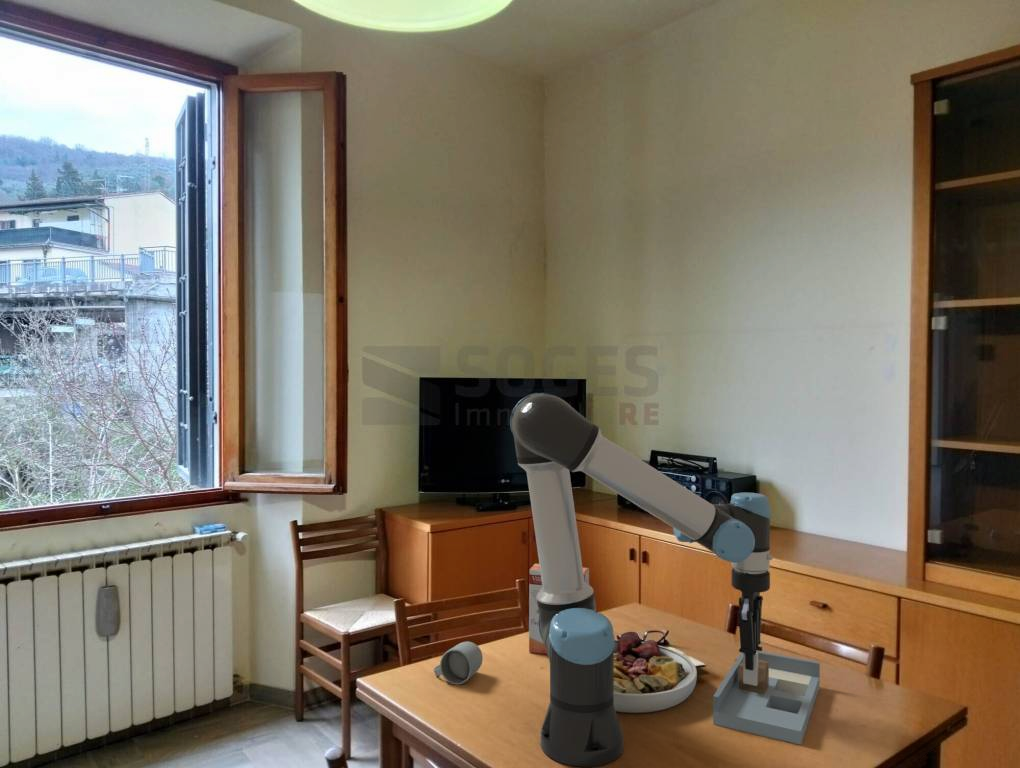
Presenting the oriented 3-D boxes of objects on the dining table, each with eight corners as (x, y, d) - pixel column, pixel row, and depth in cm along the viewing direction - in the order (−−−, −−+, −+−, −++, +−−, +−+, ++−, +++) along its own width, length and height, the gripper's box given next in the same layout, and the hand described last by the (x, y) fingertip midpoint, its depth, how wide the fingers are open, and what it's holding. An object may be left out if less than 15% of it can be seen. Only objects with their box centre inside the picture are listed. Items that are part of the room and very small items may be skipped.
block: (764, 694, 147) (764, 670, 147) (739, 689, 150) (739, 665, 150) (768, 685, 152) (768, 661, 152) (744, 680, 154) (744, 657, 154)
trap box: (800, 745, 132) (801, 715, 132) (713, 724, 140) (713, 696, 140) (819, 687, 156) (819, 662, 156) (743, 672, 164) (743, 648, 164)
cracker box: (528, 653, 176) (528, 568, 175) (534, 644, 181) (534, 562, 181) (584, 660, 172) (584, 573, 171) (589, 650, 177) (589, 566, 177)
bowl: (700, 726, 140) (700, 686, 140) (547, 712, 146) (547, 673, 146) (693, 665, 169) (693, 632, 169) (566, 655, 175) (566, 623, 175)
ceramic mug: (485, 672, 164) (484, 639, 164) (471, 687, 157) (470, 652, 157) (442, 667, 168) (442, 634, 168) (427, 681, 160) (426, 646, 160)
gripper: (763, 579, 140) (763, 699, 141) (775, 564, 152) (775, 675, 152) (724, 574, 144) (724, 691, 144) (739, 559, 155) (739, 668, 156)
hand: (750, 683), depth 148 cm, fingers closed
